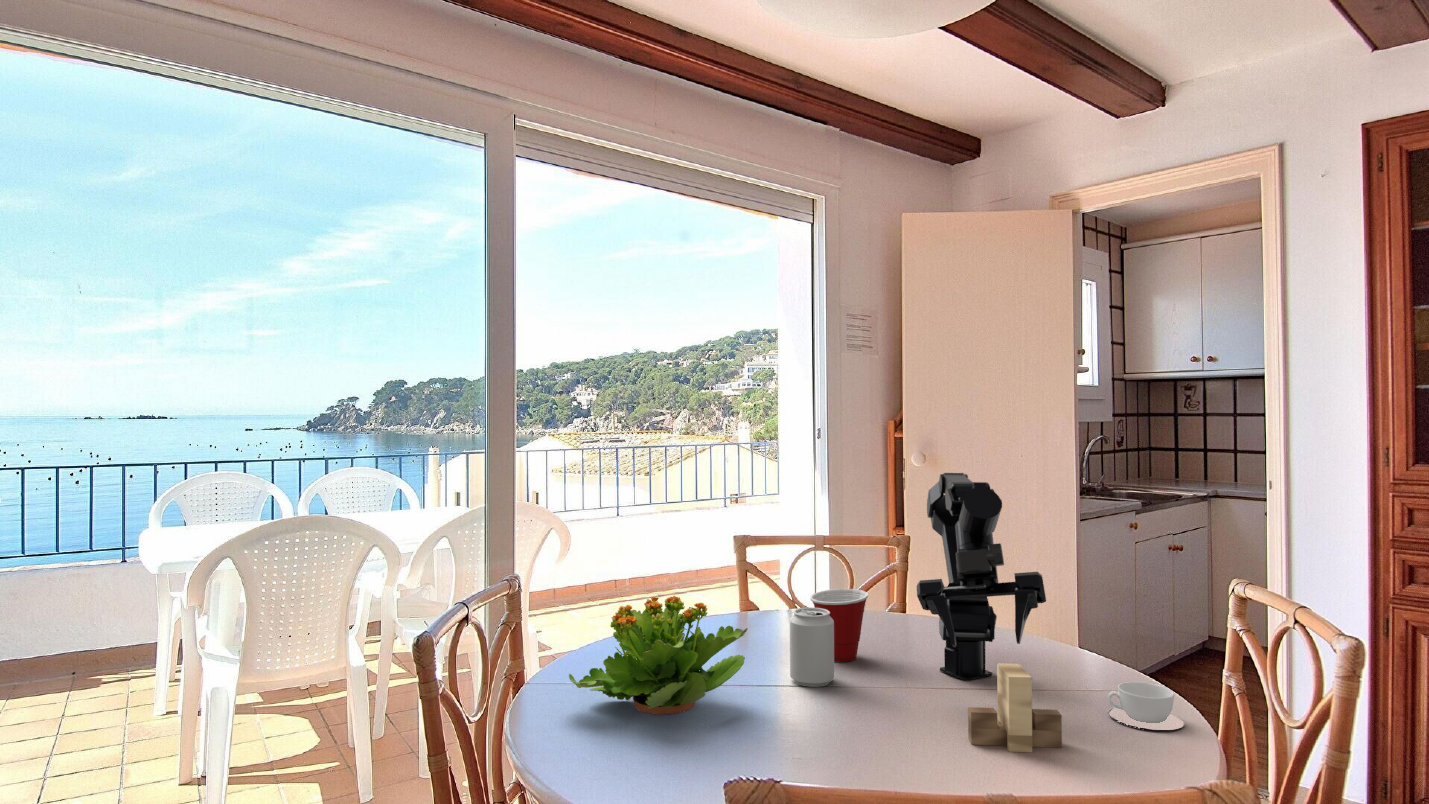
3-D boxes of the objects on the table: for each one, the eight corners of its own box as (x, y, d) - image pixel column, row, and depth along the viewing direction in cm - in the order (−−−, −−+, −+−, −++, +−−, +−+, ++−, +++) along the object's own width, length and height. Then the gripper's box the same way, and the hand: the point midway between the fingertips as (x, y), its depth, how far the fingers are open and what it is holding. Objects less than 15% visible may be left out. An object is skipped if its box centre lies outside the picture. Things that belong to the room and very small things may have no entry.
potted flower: (645, 671, 146) (645, 572, 146) (769, 691, 136) (769, 584, 136) (559, 718, 124) (559, 601, 124) (700, 746, 113) (700, 618, 113)
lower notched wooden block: (971, 744, 113) (971, 712, 113) (968, 738, 115) (968, 707, 115) (1061, 747, 112) (1061, 714, 112) (1057, 741, 114) (1056, 709, 114)
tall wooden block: (997, 734, 117) (997, 663, 117) (1019, 735, 117) (1018, 663, 117) (1009, 751, 111) (1008, 676, 111) (1032, 752, 111) (1031, 677, 111)
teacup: (1176, 713, 125) (1176, 682, 125) (1191, 738, 116) (1191, 704, 116) (1104, 706, 129) (1103, 676, 129) (1113, 729, 119) (1112, 697, 119)
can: (832, 689, 136) (832, 616, 136) (787, 687, 138) (787, 614, 138) (835, 675, 143) (835, 606, 144) (792, 673, 145) (792, 604, 145)
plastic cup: (805, 650, 159) (804, 587, 159) (860, 648, 160) (859, 586, 160) (816, 667, 148) (816, 600, 148) (875, 665, 149) (875, 599, 149)
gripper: (907, 532, 130) (912, 626, 121) (1033, 520, 124) (1048, 618, 115) (920, 564, 138) (926, 655, 129) (1038, 554, 132) (1053, 649, 123)
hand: (985, 644), depth 124 cm, fingers open, 9 cm apart
